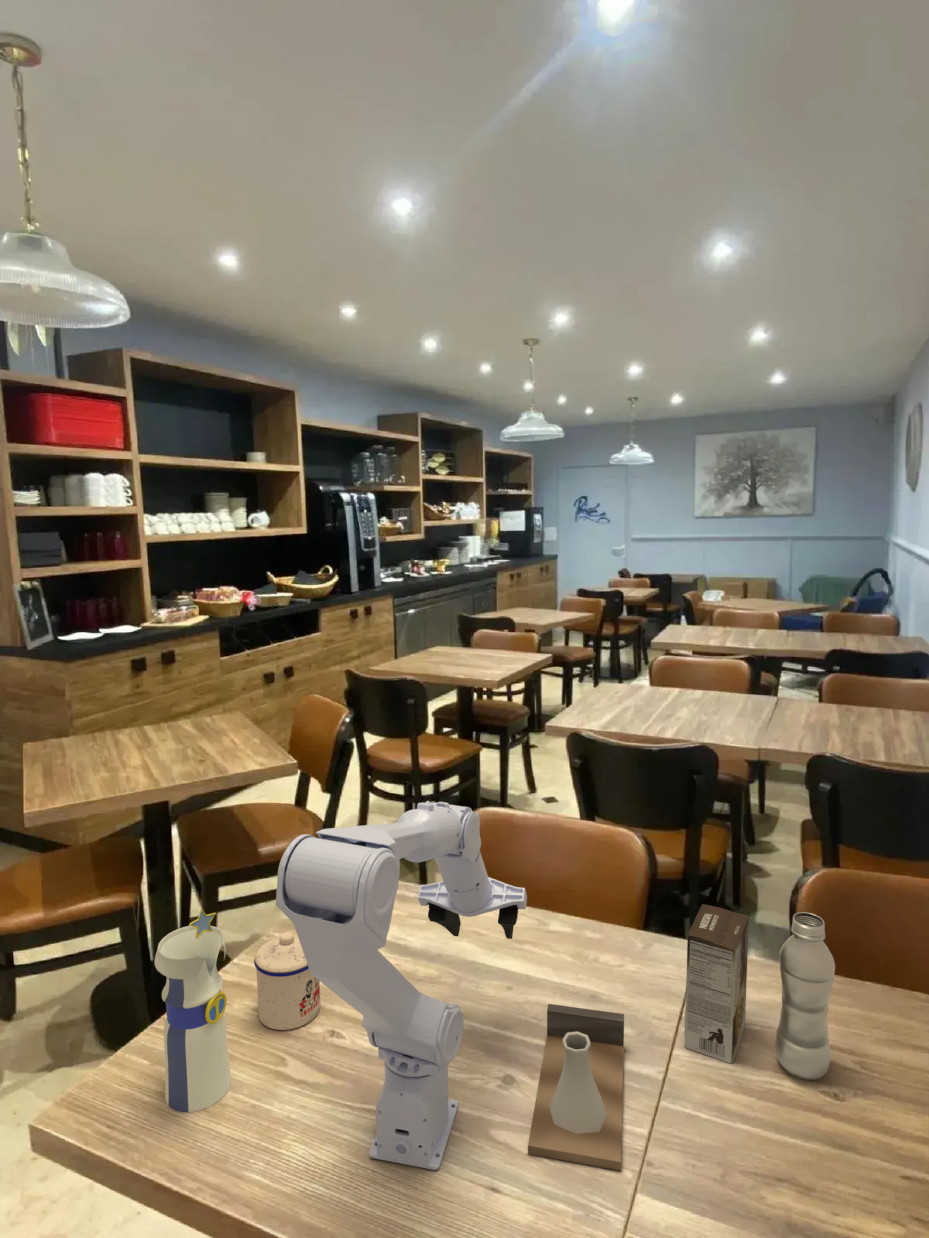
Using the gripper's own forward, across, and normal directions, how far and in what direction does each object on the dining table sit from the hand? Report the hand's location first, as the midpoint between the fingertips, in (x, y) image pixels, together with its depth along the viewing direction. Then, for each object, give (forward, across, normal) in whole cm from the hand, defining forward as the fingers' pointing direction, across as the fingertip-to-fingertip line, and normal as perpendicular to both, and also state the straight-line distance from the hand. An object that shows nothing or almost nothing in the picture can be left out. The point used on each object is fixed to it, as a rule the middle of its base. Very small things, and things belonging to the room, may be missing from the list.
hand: (483, 930), depth 103 cm
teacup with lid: (+6, +28, +9) cm, 31 cm away
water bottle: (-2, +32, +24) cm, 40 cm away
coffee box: (+14, -30, +6) cm, 34 cm away
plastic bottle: (+13, -40, +9) cm, 43 cm away
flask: (+4, -14, +21) cm, 25 cm away
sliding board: (+5, -14, +18) cm, 23 cm away
